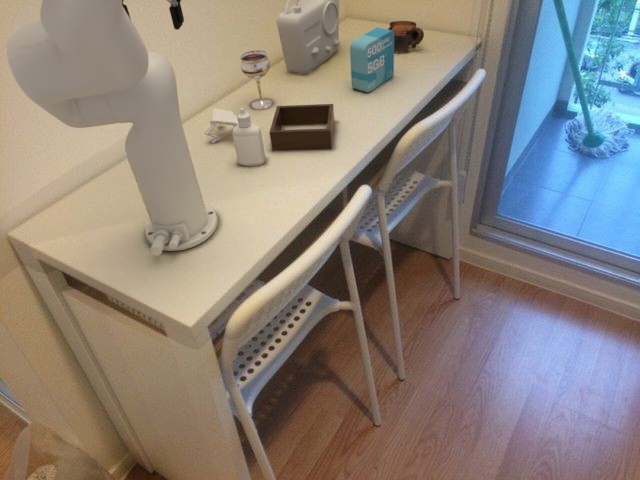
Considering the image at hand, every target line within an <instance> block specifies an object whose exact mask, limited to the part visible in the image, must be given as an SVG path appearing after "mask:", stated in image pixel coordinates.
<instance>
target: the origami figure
mask: <svg viewBox="0 0 640 480" xmlns="http://www.w3.org/2000/svg"><path fill="white" fill-rule="evenodd" d="M212 114H213V115H212V118H211V120H209V123H210V125H209V126H208V127H207V129H206V130H205V131H204V133H203V134H204V135H207V136H210V137H213V138H214V139H213V140H212V141H211V143H216V142H217V141H218V140H219V139H220V138H221V137H220V136H218V135H216V134H214V133H211V132H212V131H213V129H214V128H215V127H216V126H217V125H218V127H219V128H222V127H223V126H233V128H232V130H233V129H234V127H236V126H237V125H239V123H238V118H237V115H236V114H234V112H233V111H232V110H226V109H219V108H213V113H212ZM222 125H223V126H222Z"/></svg>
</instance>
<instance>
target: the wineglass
mask: <svg viewBox="0 0 640 480" xmlns="http://www.w3.org/2000/svg"><path fill="white" fill-rule="evenodd" d="M268 57H269V52H268V51H266V50H261V49H254V50H248V51H245V52H243V53H242V54H240V55H239V60H240V61H241V62H240V70H241V71H242V73H243V74H244V75H245V76H247V77H248V78H250V79H253V80H254V81H256V87H257V91H258V96H259V99H257V100H255V101H253V102H252V103H251V108H253V109H256V110H263V109H267V108H270V106H272V101H271V100H270V99H264V98H263V97H262V90H261V81H260V80H261V78H263V77H265V76H266V75H267V73H268V72H269V71H270V67H271V63H270V59H269V58H268Z"/></svg>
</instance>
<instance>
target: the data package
mask: <svg viewBox="0 0 640 480" xmlns="http://www.w3.org/2000/svg"><path fill="white" fill-rule="evenodd" d="M349 55H350V56H349V57H350V59H349V60H350V79H351V82H350V83H351V87H352V89H354V90H359V91H362V92H365V93H370V92H371V91H373V90H375V89H376V88H377V87H379V86H380V85H381V86H382V85H383V84H384V83H385V82H387V81H389V80H390V79H391V78H392V77H393V75H394V72H395V69H394V68H395V51H394V32H393V31H392V30H388V28H387V29H386V28H382V27H375V28H373V29H371V30H370V31H368V32H365V33H364V34H362V35H360V36H358V37H357V38H354V39H353V40H352V41H351V43H350V47H349Z"/></svg>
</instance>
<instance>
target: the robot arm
mask: <svg viewBox="0 0 640 480" xmlns="http://www.w3.org/2000/svg"><path fill="white" fill-rule="evenodd" d="M41 1H42V2H41V5H40V13H39V14H40V15H39V17H40V19H38V20H32V21H27V22H24V23H22V24H19V25H18V26H16V27H14V28H13V30H12V31H11V32H10V34H9V36H8V38H7V43H6V59H7V63H8V65H9V68H10V70H11V74H12V76H13V78H14V80H15V82H16V83H17V85H18V86H19V88H20V89H21V90H22V92H23V93H24V94H25V96H27V98H28V99H30V100H31V101H32V102H33V103H34V104H36V105H37V106H38V107H40V108H41V109H42V110H44V111H46V112H47V113H48V114H50V115H51V116H53V117H54V118H55V119H56V120H58V121H60V122H61V123H62V124H64V125H66V126H68V127H70V128H75V129H85V128H86V129H87V128H93V127H100V126H109V125H115V124H126V123H127V124H128V123H131V124H132V125H131V127H130V128H129V130H128V132H127V135H126V137H125V141H124V153H125V157H126V159H127V161H128V164H129V167H130V169H131V172H132V175H133V178H134V180H135V183H136V186H137V187H138V191H139V193H140V194H139V195H140V196H141V199H142V202H143V204H144V207H145V210H146V212H147V215H148V219H149V220H148V222H147V224H146V226H145V229H144V232H145V236H146V239H147V241H148V242H149V244H150V245H151V246H150V248H149V252H150V254H152V255H153V256H160V255H162V253H163V251H167V252H168V251H169V252H176V251H177V252H178V251H182V250H183V251H184V250H187V249H191V248H194V247H197V246H199V245H200V244H202V243H204V242H205V241H207V240H208V239H209V238H210V237H211V236H212V235H213V234H214V233H215V231H216V229H217V227H218V216H217V213H216V211H215V210H214V208H212V207H211V206H209V205H208V204H205V203H204V199H203V195H202V192H201V188H200V184H199V181H198V177H197V173H196V170H195V165H194V163H193V158H192V155H191V152H190V148H189V145H188V141H187V137H186V134H185V130H184V125H183V122H182V116H181V110H180V104H179V95H178V88H177V87H178V86H177V79H176V74H175V70H174V68H173V65H172V63H171V62H170V61H169V60H168V58H167V57H166V56H164V55H163V54H161V53H159V52H156V51H153V50H148V49H147V47H146V44H145V42H144V40H143V38H142V36H141V34H140V33H139V31H138V29H137V28H136V26H135V24H134V22H133V21H132V19H131V15H130V11H129V9H128V6H127V5H126V4H124V1H125V0H41ZM166 1H167V3H169V5H170V6H169V7H168V8H169V14H170V17H171V21H172V26H173V29H174V30H176V31H177V30H180V29H181V27H182V26H183V24H184V22H185V18H184V14H183V8H182V6H181V2H182V0H166Z"/></svg>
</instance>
